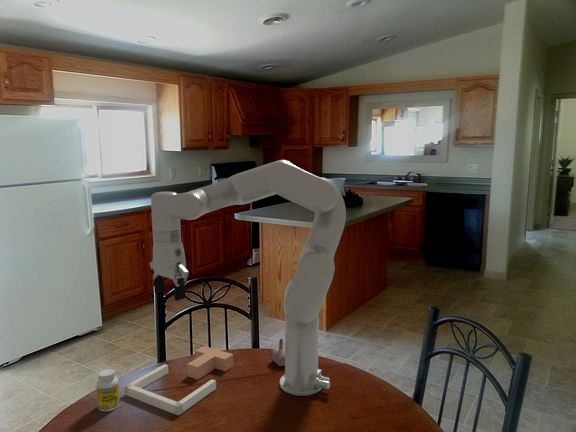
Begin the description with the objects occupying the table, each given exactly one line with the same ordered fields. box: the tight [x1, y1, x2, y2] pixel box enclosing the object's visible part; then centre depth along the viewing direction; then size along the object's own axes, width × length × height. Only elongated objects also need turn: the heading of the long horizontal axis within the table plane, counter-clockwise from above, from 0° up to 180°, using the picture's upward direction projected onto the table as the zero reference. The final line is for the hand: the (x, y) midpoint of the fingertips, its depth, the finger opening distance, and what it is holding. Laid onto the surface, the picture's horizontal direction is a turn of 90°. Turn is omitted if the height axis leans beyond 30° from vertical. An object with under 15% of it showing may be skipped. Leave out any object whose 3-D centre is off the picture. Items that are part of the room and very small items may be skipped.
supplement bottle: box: [96, 368, 121, 412], centre depth 117 cm, size 5×5×10 cm
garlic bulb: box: [270, 338, 285, 367], centre depth 141 cm, size 8×7×8 cm
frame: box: [124, 363, 217, 417], centre depth 124 cm, size 20×15×2 cm
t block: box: [186, 345, 234, 380], centre depth 137 cm, size 12×12×4 cm
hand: (169, 295), depth 126 cm, fingers open, 9 cm apart
